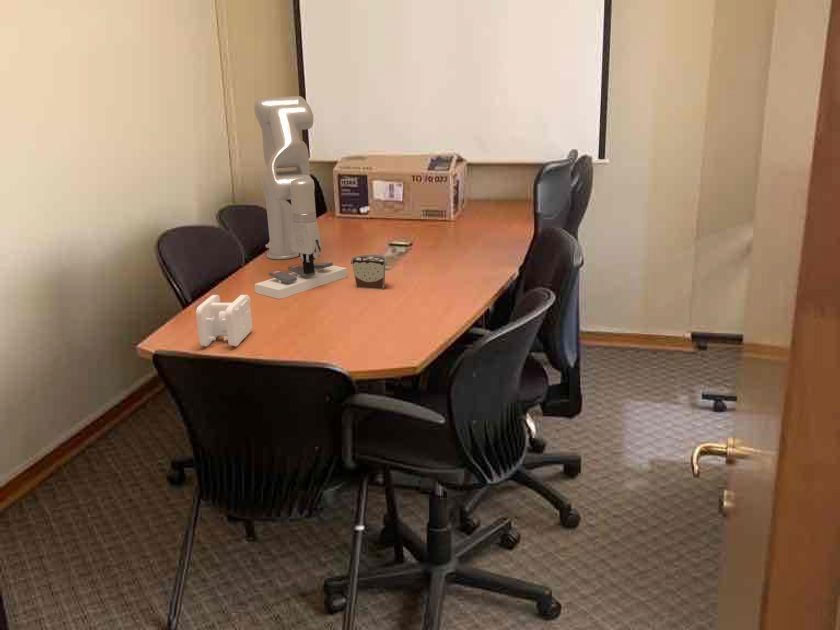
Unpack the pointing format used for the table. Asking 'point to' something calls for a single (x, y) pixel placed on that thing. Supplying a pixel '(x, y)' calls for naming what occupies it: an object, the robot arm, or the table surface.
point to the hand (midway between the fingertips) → (309, 272)
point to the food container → (369, 271)
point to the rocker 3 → (322, 264)
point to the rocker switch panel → (300, 282)
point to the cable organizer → (224, 320)
